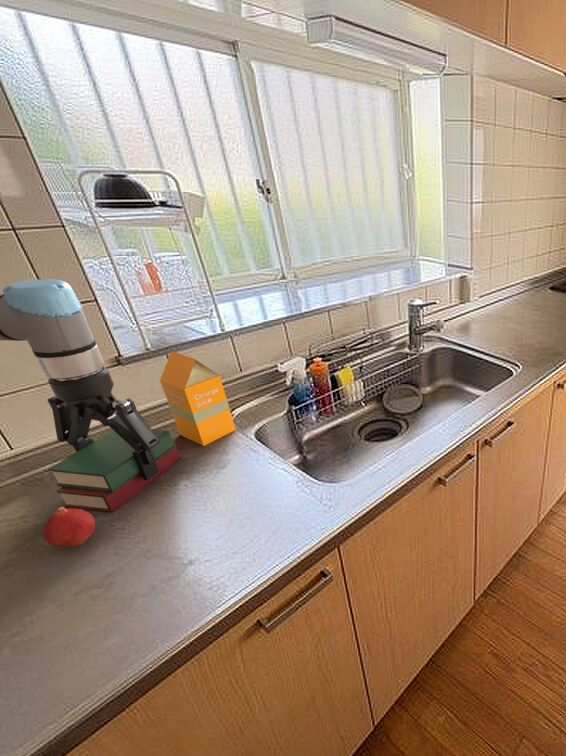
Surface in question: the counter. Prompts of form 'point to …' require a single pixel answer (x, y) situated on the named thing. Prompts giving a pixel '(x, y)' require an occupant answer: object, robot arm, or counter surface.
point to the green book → (105, 463)
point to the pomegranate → (68, 527)
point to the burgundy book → (121, 495)
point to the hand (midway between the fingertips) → (124, 472)
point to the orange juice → (196, 399)
